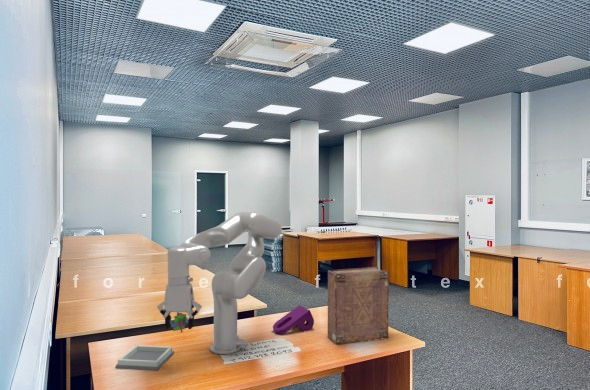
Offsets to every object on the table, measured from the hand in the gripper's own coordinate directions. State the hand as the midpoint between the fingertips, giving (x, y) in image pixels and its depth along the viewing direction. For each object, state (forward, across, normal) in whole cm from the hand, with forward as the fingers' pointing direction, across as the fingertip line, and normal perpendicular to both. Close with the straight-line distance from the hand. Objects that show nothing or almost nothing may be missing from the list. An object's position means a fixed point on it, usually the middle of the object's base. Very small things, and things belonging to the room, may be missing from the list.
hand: (179, 327), depth 150 cm
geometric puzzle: (+2, 0, 0) cm, 2 cm away
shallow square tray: (+14, +15, -3) cm, 21 cm away
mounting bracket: (+16, -37, -42) cm, 58 cm away
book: (+16, -67, -35) cm, 78 cm away
